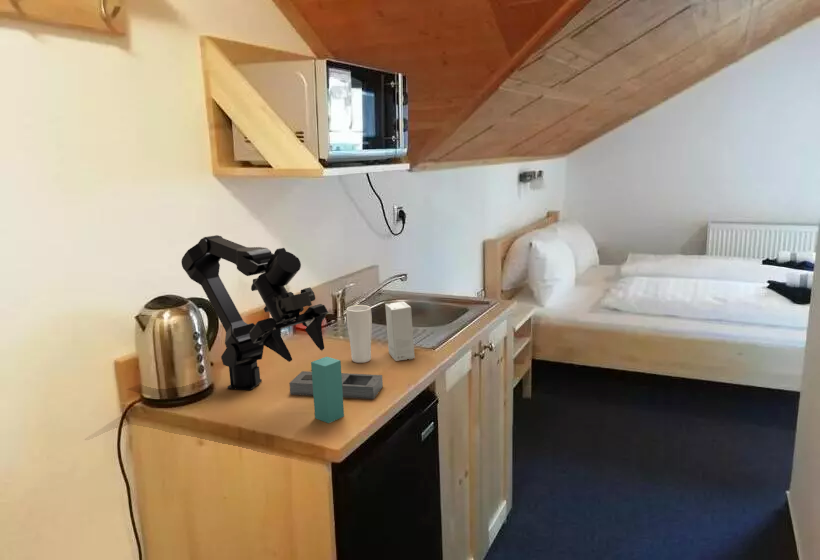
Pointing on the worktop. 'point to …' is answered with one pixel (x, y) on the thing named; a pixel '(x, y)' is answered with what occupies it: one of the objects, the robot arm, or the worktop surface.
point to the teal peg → (327, 389)
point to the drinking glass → (360, 332)
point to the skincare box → (400, 331)
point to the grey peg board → (351, 385)
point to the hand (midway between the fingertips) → (307, 355)
